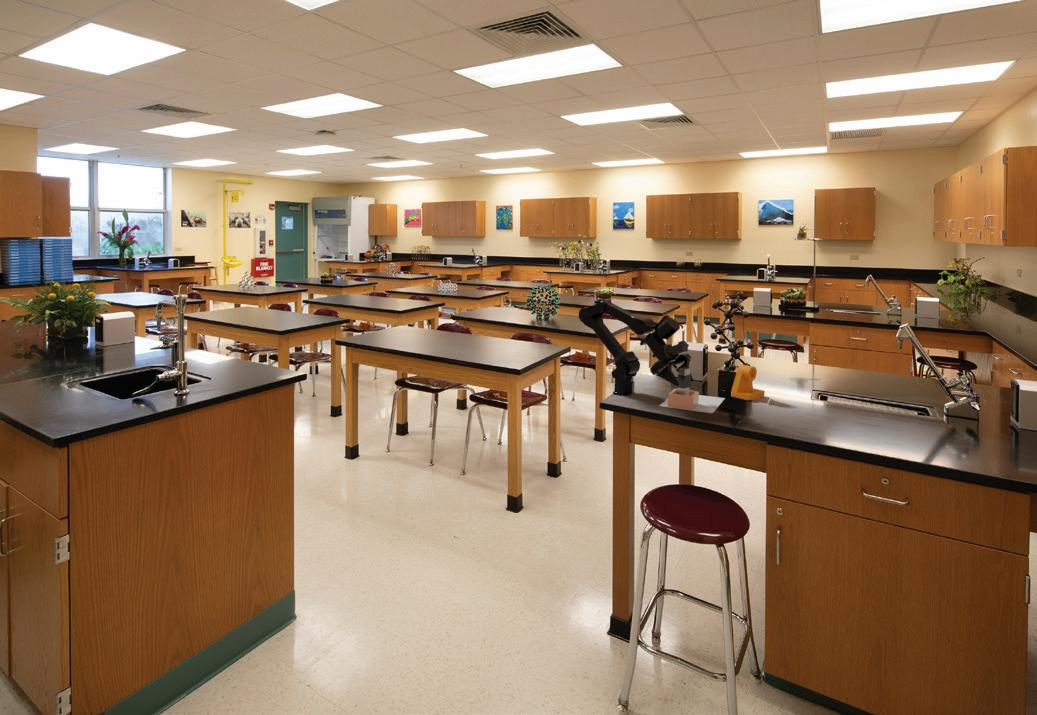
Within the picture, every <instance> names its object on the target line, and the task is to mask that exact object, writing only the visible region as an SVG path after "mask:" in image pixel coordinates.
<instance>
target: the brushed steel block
mask: <svg viewBox="0 0 1037 715" xmlns="http://www.w3.org/2000/svg"><path fill="white" fill-rule="evenodd" d="M690 372H691V368H690V367H689V368H686V367H684V368H679V372H678V374H677V381H678V382H679V386H676V387H677V389H678V394H680V395H688V396H689V390H690V388H691V383H692V382H691V375H692V374H691V375H690Z"/></svg>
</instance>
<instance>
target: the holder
mask: <svg viewBox="0 0 1037 715" xmlns="http://www.w3.org/2000/svg"><path fill="white" fill-rule="evenodd" d="M699 395H700V392H699V391H696V390H691V389H689V396H688V395H680V394H678V388H673V389H672V390H671V391H670V392H668V393H667V399H668V407H667V408H670V407H675V408H674V409H677V408H683V409H682V410H685V409H690V410H689V411H692V410H693V409H694V408H695V407H696V406H697V405H698V399H699Z"/></svg>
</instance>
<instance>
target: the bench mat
mask: <svg viewBox="0 0 1037 715" xmlns="http://www.w3.org/2000/svg"><path fill="white" fill-rule="evenodd" d="M724 400H726V398H725V397H719V396H709V395H701V394H699V399H698V405H697V406H696V407H695V408H694V409H693V410H690V409H683V408H675V407H668V398H666V399H665V400H664V401H663V402H662V403H660V404H659V405H658V406H659V407H664V408H672V409H679V410H685V411H687V410H688V411H693V412H698V413H699V412H701V413H706V414H707V413H708V414H714V412H715V411H716V410H717V409H718V408H719V406H720V405H721V404H722V403H723V401H724Z"/></svg>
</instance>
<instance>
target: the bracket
mask: <svg viewBox="0 0 1037 715" xmlns="http://www.w3.org/2000/svg"><path fill="white" fill-rule="evenodd" d="M757 370H758V369H757V367H755V366H753V365H746V364H740V365H739V366H738V367H737V368H736V373H735V377H734V381H733V383H732V387H731V391H730V397H732V398H737V399H741V400H745V401H755V400H759V399H762V397H765V393H766V392H765V390H763V389H758V388H754V384H753V382H754V381H755V379H756V377H757V373H758V372H757Z"/></svg>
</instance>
